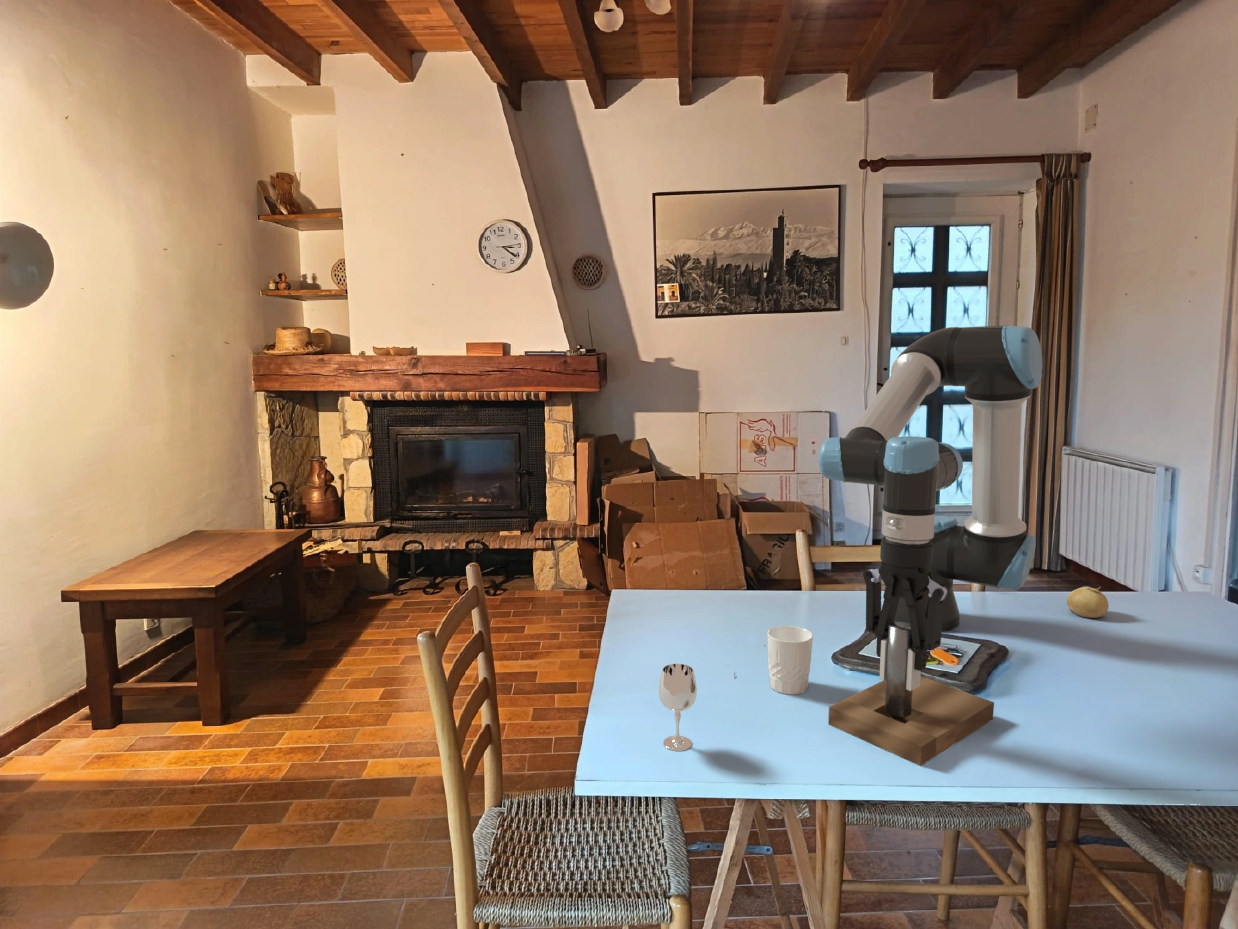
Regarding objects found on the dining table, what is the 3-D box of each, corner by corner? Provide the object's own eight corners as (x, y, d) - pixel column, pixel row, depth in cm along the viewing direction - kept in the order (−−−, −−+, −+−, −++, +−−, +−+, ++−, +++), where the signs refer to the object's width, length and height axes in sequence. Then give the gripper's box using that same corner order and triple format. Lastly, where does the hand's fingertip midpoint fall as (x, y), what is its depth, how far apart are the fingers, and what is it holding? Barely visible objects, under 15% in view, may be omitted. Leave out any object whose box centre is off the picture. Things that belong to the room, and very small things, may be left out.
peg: (879, 710, 121) (883, 625, 118) (893, 702, 123) (897, 620, 121) (902, 719, 117) (907, 633, 115) (916, 711, 120) (921, 627, 118)
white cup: (812, 680, 139) (814, 628, 137) (808, 699, 132) (810, 644, 130) (769, 675, 141) (770, 623, 140) (763, 693, 134) (764, 639, 133)
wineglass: (656, 735, 120) (656, 663, 118) (692, 733, 120) (693, 661, 118) (661, 754, 114) (661, 679, 112) (699, 752, 115) (700, 677, 113)
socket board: (828, 724, 123) (829, 706, 122) (903, 686, 136) (904, 670, 136) (920, 766, 110) (921, 746, 110) (992, 719, 124) (994, 702, 123)
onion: (1064, 617, 171) (1067, 586, 169) (1067, 607, 177) (1070, 577, 176) (1106, 624, 166) (1109, 592, 165) (1108, 613, 172) (1111, 583, 171)
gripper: (845, 531, 120) (839, 671, 124) (947, 553, 107) (938, 709, 111) (872, 524, 125) (866, 659, 128) (973, 545, 112) (964, 694, 115)
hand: (899, 682), depth 120 cm, fingers closed on peg, 4 cm apart
